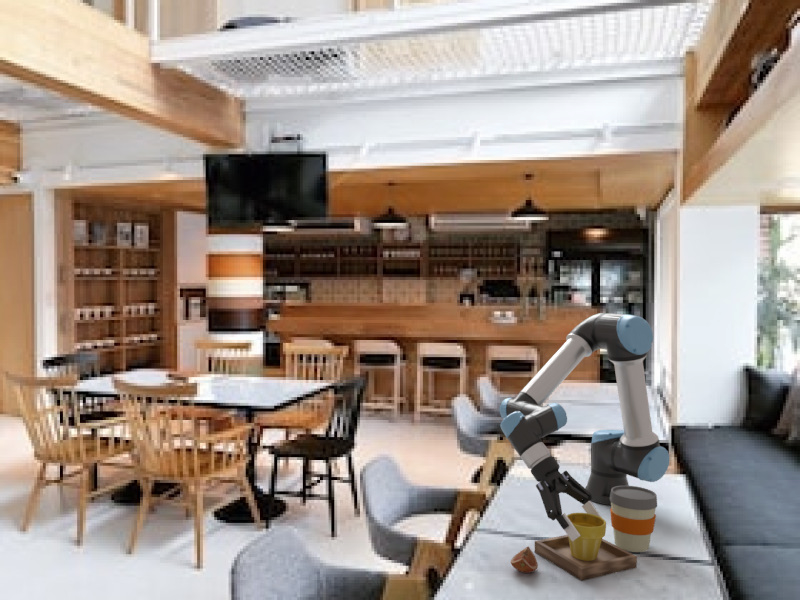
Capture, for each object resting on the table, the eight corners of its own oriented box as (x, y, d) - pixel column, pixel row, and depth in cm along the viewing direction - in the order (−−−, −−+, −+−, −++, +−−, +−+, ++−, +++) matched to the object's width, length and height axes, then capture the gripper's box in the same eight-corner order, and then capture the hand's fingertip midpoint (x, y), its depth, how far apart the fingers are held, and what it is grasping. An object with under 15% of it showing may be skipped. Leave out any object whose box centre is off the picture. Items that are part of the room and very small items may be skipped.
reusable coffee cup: (632, 558, 175) (634, 502, 175) (598, 540, 186) (600, 488, 186) (665, 550, 181) (667, 496, 181) (630, 533, 192) (632, 483, 192)
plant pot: (606, 566, 167) (608, 528, 167) (564, 561, 170) (566, 524, 169) (602, 550, 178) (604, 514, 177) (563, 546, 180) (564, 510, 179)
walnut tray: (586, 541, 186) (587, 530, 186) (636, 567, 169) (637, 556, 169) (534, 552, 178) (534, 541, 178) (581, 580, 161) (581, 568, 161)
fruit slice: (533, 580, 161) (534, 560, 161) (506, 575, 163) (507, 555, 163) (540, 567, 169) (540, 548, 168) (514, 562, 171) (514, 543, 171)
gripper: (555, 461, 193) (601, 525, 183) (506, 479, 175) (555, 552, 165) (571, 447, 189) (620, 512, 180) (524, 464, 171) (575, 537, 161)
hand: (589, 531), depth 172 cm, fingers open, 13 cm apart
